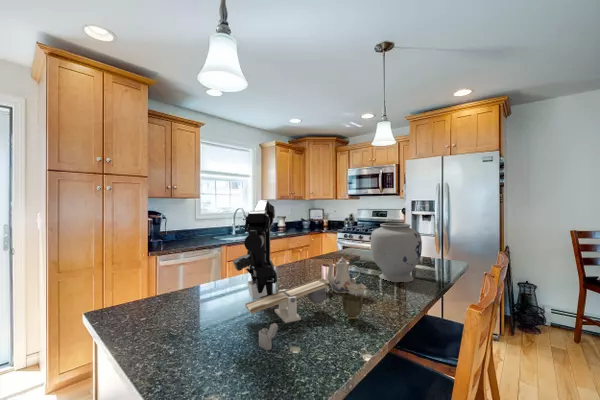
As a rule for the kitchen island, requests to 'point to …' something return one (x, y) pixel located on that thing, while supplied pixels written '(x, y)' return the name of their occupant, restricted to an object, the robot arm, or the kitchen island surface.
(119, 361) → the kitchen island surface
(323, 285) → the beam
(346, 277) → the chinaware
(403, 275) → the apothecary jar
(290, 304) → the pivot stand
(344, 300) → the cup
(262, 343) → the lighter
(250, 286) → the steel block
